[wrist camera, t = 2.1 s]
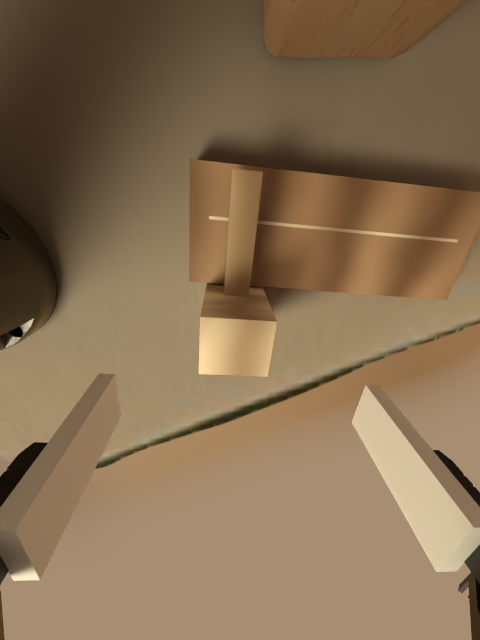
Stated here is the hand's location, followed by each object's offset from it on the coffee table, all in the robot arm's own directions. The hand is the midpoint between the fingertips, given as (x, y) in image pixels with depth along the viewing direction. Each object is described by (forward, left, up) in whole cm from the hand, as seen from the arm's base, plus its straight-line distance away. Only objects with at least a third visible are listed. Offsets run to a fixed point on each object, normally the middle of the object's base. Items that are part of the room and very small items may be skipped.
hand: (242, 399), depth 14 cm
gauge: (0, +5, -13) cm, 14 cm away
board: (+8, +7, -14) cm, 17 cm away
